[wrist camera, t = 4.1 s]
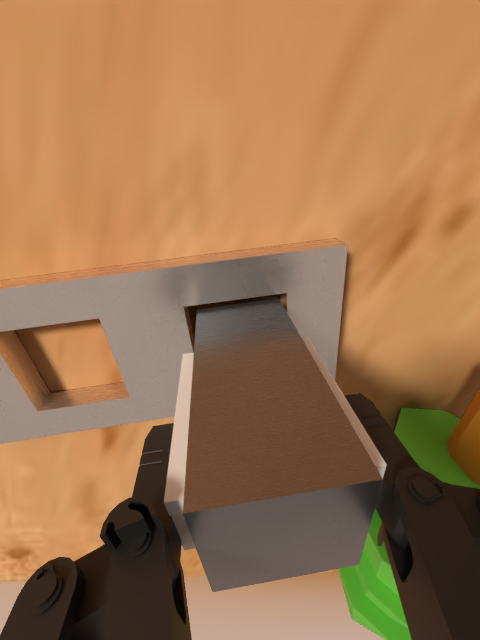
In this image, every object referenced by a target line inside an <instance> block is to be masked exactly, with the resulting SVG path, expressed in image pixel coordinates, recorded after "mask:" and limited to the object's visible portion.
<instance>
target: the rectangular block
mask: <svg viewBox="0 0 480 640" xmlns="http://www.w3.org/2000/svg"><path fill="white" fill-rule="evenodd" d="M382 481H383V479H382V477H381V475H380V473H379V472H378V470H377V468H376V466H375V465H374V463H373V461H372V459H371V458H370V456H369V454H368V452H367V451H366V449H365V447H364V446H363V444H362V442H361V440H360V439H359V437H358V435H357V433H356V432H355V430H354V428H353V426H352V425H351V423H350V421H349V419H348V418H347V416H346V414H345V413H344V411H343V409H342V407H341V406H340V404H339V402H338V400H337V399H336V397H335V395H334V393H333V392H332V390H331V388H330V386H329V385H328V383H327V381H326V380H325V378H324V376H323V374H322V373H321V371H320V369H319V367H318V366H317V364H316V362H315V360H314V359H313V357H312V355H311V353H310V352H309V350H308V348H307V347H306V345H305V343H304V341H303V340H302V338H301V336H300V334H299V333H298V331H297V329H296V327H295V326H294V324H293V322H292V320H291V319H290V317H289V315H288V313H287V312H286V310H285V308H284V307H283V305H282V303H281V301H280V300H279V298H277V299H270V300H262V301H255V302H247V303H240V304H232V305H225V306H217V307H210V308H203V309H197V314H196V328H195V343H194V357H193V372H192V386H191V401H190V416H189V430H188V445H187V459H186V474H185V488H184V503H183V516H184V518H185V521H186V523H187V526H188V529H189V531H190V534H191V537H192V539H193V542H194V544H195V547H196V550H197V552H198V555H199V557H200V560H201V563H202V565H203V568H204V571H205V573H206V576H207V578H208V581H209V583H210V586H211V589H212V591H213V592H216V591H221V590H226V589H232V588H237V587H242V586H248V585H253V584H259V583H264V582H269V581H274V580H280V579H285V578H291V577H296V576H302V575H307V574H312V573H318V572H323V571H328V570H334V569H339V568H344V567H350V566H355V565H359V563H360V559H361V556H362V552H363V549H364V545H365V542H366V538H367V534H368V531H369V527H370V524H371V520H372V517H373V513H374V510H375V506H376V502H377V499H378V495H379V492H380V488H381V485H382Z"/></svg>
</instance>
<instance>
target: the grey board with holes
mask: <svg viewBox="0 0 480 640" xmlns="http://www.w3.org/2000/svg"><path fill="white" fill-rule="evenodd" d="M347 249H348V244H345V243H343V242H341V241H339V240H337V239H335V238H333V239H325V240H317V241H309V242H301V243H293V244H285V245H278V246H270V247H262V248H254V249H246V250H238V251H230V252H222V253H214V254H206V255H198V256H190V257H182V258H174V259H166V260H158V261H150V262H143V263H135V264H127V265H119V266H111V267H103V268H95V269H87V270H79V271H71V272H63V273H55V274H47V275H39V276H31V277H23V278H15V279H8V280H0V444H2V443H8V442H15V441H21V440H28V439H34V438H40V437H47V436H53V435H59V434H66V433H72V432H78V431H85V430H91V429H98V428H104V427H110V426H117V425H123V424H129V423H136V422H142V421H149V420H155V419H161V418H168V417H174V416H175V410H176V403H177V395H178V387H179V379H180V371H181V363H182V356H183V354H187V353H194V343H195V339H194V334H193V329H192V325H191V320H190V315H189V310H188V306H194V305H201V304H209V303H216V302H223V301H231V300H238V299H246V298H253V297H260V296H268V295H275V294H280V301H281V303H282V305H283V307H284V308H285V310H286V312H287V313H288V315H289V317H290V319H291V320H292V322H293V324H294V326H295V327H296V329H297V331H298V333H299V334H300V336H301V337H306V336H308V338H309V340H310V341H311V343H312V344H313V346H314V348H315V349H316V351H317V353H318V354H319V356H320V357H321V359H322V361H323V362H324V364H325V365H326V367H327V369H328V370H329V372H330V374H331V375H332V377H333V378H334V380H335V376H336V365H337V355H338V344H339V334H340V323H341V312H342V302H343V291H344V281H345V270H346V260H347ZM98 318H99V320H100V322H101V325H102V327H103V330H104V332H105V335H106V337H107V340H108V342H109V345H110V348H111V350H112V353H113V355H114V358H115V360H116V363H117V365H118V368H119V370H120V373H121V375H122V378H123V380H124V382H121V383H114V384H107V385H101V386H94V387H87V388H80V389H74V390H67V391H60V392H54V393H50V391H49V389H48V388H47V386H46V384H45V382H44V381H43V379H42V377H41V376H40V374H39V372H38V370H37V369H36V367H35V365H34V364H33V362H32V360H31V358H30V357H29V355H28V353H27V352H26V350H25V348H24V346H23V345H22V343H21V341H20V339H19V338H18V336H17V334H16V333H15V331H14V330H17V329H24V328H32V327H39V326H47V325H54V324H61V323H69V322H76V321H83V320H91V319H98Z"/></svg>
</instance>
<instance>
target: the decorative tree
mask: <svg viewBox="0 0 480 640" xmlns="http://www.w3.org/2000/svg"><path fill="white" fill-rule="evenodd" d="M394 433H395V434H396V436H397V437H398V438H399V440H400V441H401V443H402V444H403V445H404V447H405V448H406V450H407V451H408V452H409V454H410V455H411V456H412V458H413V459H414V461H415V462H416V463H417V464H418V465H419V467H420V468H421V469H423V470H425V471H427V472H429V473H431V474H433V475H434V476H435V477H436V478H438V479H439V480H440V481H442V482H445V483H449V484H453V485H459V486H465V487H471V488H477V489H480V389H479V390H478V392H477V393H476V395H475V397H474V398H473V400H472V402H471V403H470V405H469V407H468V408H467V410H466V412H465V413H464V415H463V416H462V418H461V419H460V418H458V417H456V416H454V415H452V414H451V413H449V412H447V411H445V410H432V409H417V408H403V407H402V408H401V412H400V415H399V418H398V421H397V424H396V428H395V431H394ZM381 523H382V520H381V518H380V516H379V514H378V512H377V510H376V508H375V510H374V513H373V517H372V520H371V524H370V527H369V531H368V534H367V538H366V542H365V545H364V549H363V552H362V556H361V559H360V563H359V565H355V566H350V567H344V568H339V569H338V570H339V573H340V577H341V581H342V584H343V588H344V592H345V595H346V599H347V603H348V606H349V610H350V613H351V617H352V619H353V620H355V621H356V622H358V623H360V624H361V625H363V626H364V627H366V628H368V629H369V630H371V631H372V632H374V633H376V634H377V635H379V636H381V637H382V638H384V639H385V640H412V639H411V636H410V632H409V629H408V625H407V622H406V618H405V615H404V611H403V608H402V604H401V600H400V597H399V593H398V590H397V586H396V583H395V579H394V576H393V572H392V569H391V565H390V562H389V558H388V555H387V551H386V548H385V544H384V541H383V544H382V546H378V543H377V536H378V533H379V529H380V526H381Z"/></svg>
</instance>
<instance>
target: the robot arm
mask: <svg viewBox="0 0 480 640" xmlns="http://www.w3.org/2000/svg"><path fill="white" fill-rule="evenodd" d="M301 338H302V340H303V341H304V343H305V345H306V347H307V348H308V350H309V352H310V353H311V355H312V357H313V359H314V360H315V362H316V364H317V366H318V367H319V369H320V371H321V373H322V374H323V376H324V378H325V380H326V381H327V383H328V385H329V386H330V388H331V390H332V392H333V393H334V395H335V397H336V399H337V400H338V402H339V404H340V406H341V407H342V409H343V411H344V413H345V414H346V416H347V418H348V419H349V421H350V423H351V425H352V426H353V428H354V430H355V432H356V433H357V435H358V437H359V439H360V440H361V442H362V444H363V446H364V447H365V449H366V451H367V452H368V454H369V456H370V458H371V459H372V461H373V463H374V465H375V466H376V468H377V470H378V472H379V473H380V475H381V477H382V479H383V481H382V485H381V488H380V492H379V495H378V499H377V502H376V506H375V508H376V510H377V512H378V514H379V516H380V518H381V520H382V523H381V526H380V529H379V533H378V536H377V543H378V546H382V544H383V541H384V544H385V548H386V551H387V555H388V558H389V562H390V565H391V569H392V572H393V576H394V579H395V583H396V586H397V590H398V593H399V597H400V600H401V604H402V608H403V611H404V615H405V618H406V622H407V625H408V629H409V632H410V636H411V639H412V640H480V489H477V488H471V487H465V486H459V485H453V484H449V483H445V482H442V481H440V480H439V479H438V478H436V477H435V476H434V475H433V474H431V473H429V472H427V471H425V470H423V469H421V468H420V467H419V465H418V464H417V463H416V462H415V461H414V459H413V458H412V456H411V455H410V454H409V452H408V451H407V450H406V448H405V447H404V445H403V444H402V443H401V441H400V440H399V438H398V437H397V436H396V434H395V433H394V432H393V430H392V429H391V427H390V426H388V424H387V422H386V420H385V419H384V418H383V416H381V414H380V412H379V411H378V409H377V408H376V407H375V405H374V404H373V402H371V401H370V400H369V399H367V398H366V397H365V396H363V395H362V394H353V395H347V396H344V395H343V393H342V391H341V390H340V388H339V387H338V385H337V383H336V382H335V380H334V378H333V377H332V375H331V374H330V372H329V370H328V369H327V367H326V365H325V364H324V362H323V361H322V359H321V357H320V356H319V354H318V353H317V351H316V349H315V348H314V346H313V344H312V343H311V341H310V340H309V338H308V336H306V337H301ZM193 357H194V353H187V354H183V356H182V363H181V371H180V379H179V387H178V395H177V403H176V410H175V418H174V423H171V424H165V425H158V426H153V428H152V429H151V431H150V432H149V434H148V435H147V437H146V439H145V442H144V447H143V451H142V456H141V460H140V467H139V469H138V473H137V478H136V482H135V486H134V491H133V495H132V498H128V499H126V500H125V501H123V502H121V503H120V504H118V505H117V506H116V507H115V508H114V509H113V510H112V511H111V512H110V513H109V515H108V517H107V518H106V520H105V522H104V523H103V526H102V530H101V534H100V537H101V539H102V540H103V542H104V543H105V544H104V545H103V546H101V547H100V548H98V549H96V550H94V551H92V552H91V553H89V554H87V555H85V556H83V557H81V558H80V559H78V560H76V561H74V562H73V561H72V560H71V559H70V558H66V557H59V558H56V559H53V560H51V561H48V562H47V563H46V564H44V565H43V566H42V567H40V568H39V569H38V570H37V571H36V572H35V573H34V574H33V575H32V576H31V577H30V579H29V580H28V581H27V582H26V583H25V585H24V587H23V589H22V590H21V592H20V594H19V596H18V597H17V599H16V602H15V604H14V606H13V608H12V611H11V613H10V615H9V617H8V619H7V622H6V624H5V626H4V628H3V630H2V633H1V635H0V640H192V639H191V631H190V623H189V615H188V607H187V599H186V591H185V583H184V575H183V569H182V566H181V563H180V556H181V544H182V546H183V548H184V550H188V549H193V548H196V547H195V544H194V542H193V539H192V537H191V534H190V531H189V529H188V526H187V523H186V521H185V518H184V516H183V503H184V488H185V474H186V459H187V445H188V430H189V416H190V401H191V386H192V372H193Z"/></svg>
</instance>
